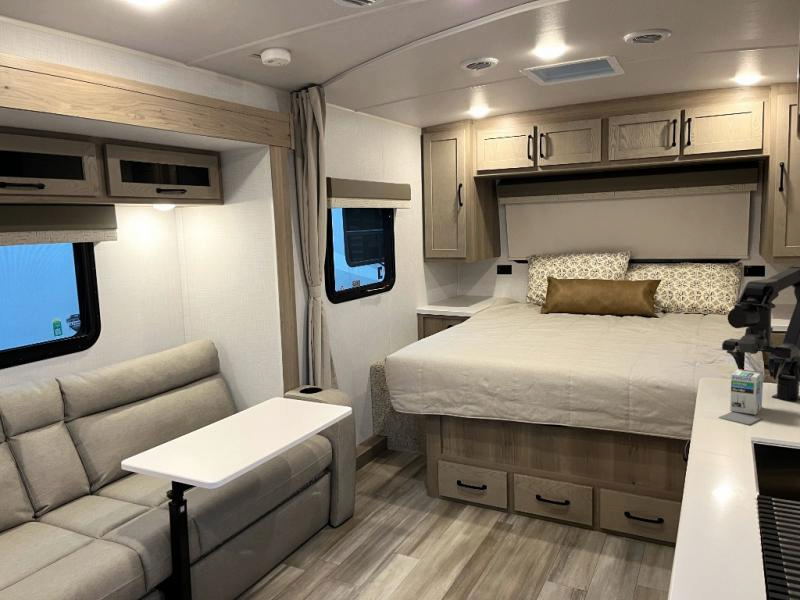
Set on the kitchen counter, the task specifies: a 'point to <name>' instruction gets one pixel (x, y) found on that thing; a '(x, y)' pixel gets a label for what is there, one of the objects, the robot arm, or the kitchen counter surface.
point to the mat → (741, 418)
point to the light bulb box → (746, 391)
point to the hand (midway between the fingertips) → (758, 376)
